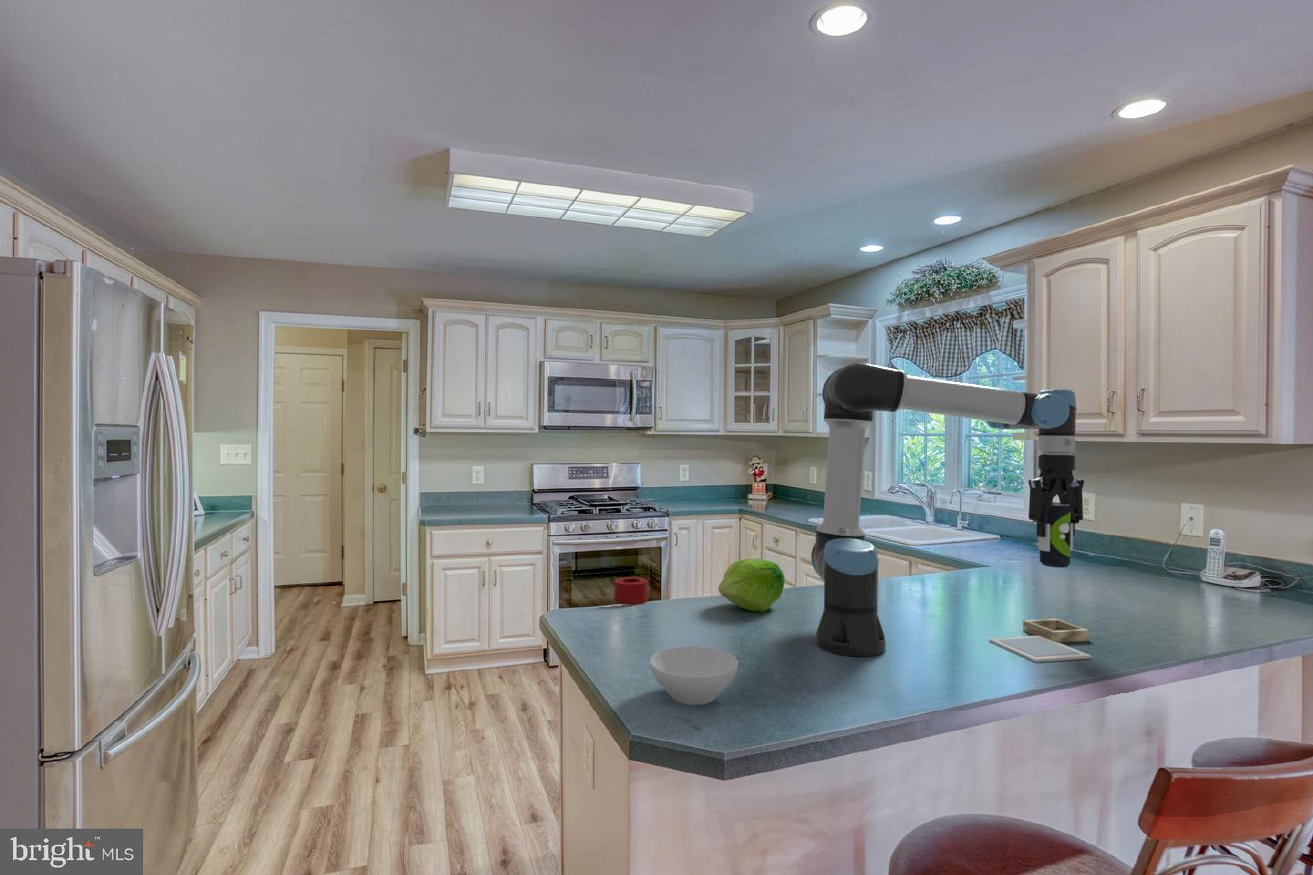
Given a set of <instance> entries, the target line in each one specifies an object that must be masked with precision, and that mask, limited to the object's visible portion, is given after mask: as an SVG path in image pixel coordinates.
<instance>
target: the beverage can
mask: <svg viewBox="0 0 1313 875" xmlns="http://www.w3.org/2000/svg"><path fill="white" fill-rule="evenodd" d="M1070 522H1071V509H1070V508H1069V504H1068V505H1064V504H1060V502H1057V501H1056V502H1052V505H1051V509H1050V513H1049V517H1048V520H1047V523H1046V524H1050V551H1043V550H1039V562H1040V563H1041V564H1042V565H1043V566H1046V567H1050V568H1063V569H1064V568H1068V566H1070V565H1071V551H1070Z"/></svg>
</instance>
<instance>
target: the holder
mask: <svg viewBox="0 0 1313 875" xmlns="http://www.w3.org/2000/svg"><path fill="white" fill-rule="evenodd" d="M1022 631H1023V632H1025V631H1026V633H1028V634H1031V635H1032V636H1040V635H1041V636H1043V637H1046V638H1048V639H1051V640H1053V641H1056V642H1058V643H1061V644H1063V643H1074V642H1076V643H1077V642H1089V641H1090V630H1089V629H1087V628H1084V627H1082V626H1078V625H1076V624H1072V623H1071V622H1070V623H1069V622H1067V621H1064V620H1062V619H1059V618H1045V619H1028V620H1027V619H1025V620H1022Z"/></svg>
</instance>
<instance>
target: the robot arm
mask: <svg viewBox="0 0 1313 875" xmlns="http://www.w3.org/2000/svg"><path fill="white" fill-rule="evenodd" d="M821 395H822V400H823V404H824V407H823V408H824V409H823V421H824V422H825V424H827V426H828V428H829V431H828V443H827V444H828V445H827V459H826V460H827V461H826V473H825V487H824V488H825V489H824V502H823V504H824V506H823V517H822V518H823V519H822V523H821V524H820V525H818V526H817V527H816V529H815V543H814V544H813V546H812V550H811V554H810V555H811V556H810V558H811V564H812V567H813V569H814V572H815V573H816V574H817V575H818V577H819V578H821V580H823V586H824V587H823V611H822V615H821V617H820V620H819V623H818V627H817V629H816V633H815V643H816V645H817V646H818V648H820V649H822V650H823V651H826V652H829V653H833V654H837V655H840V656H841V655H842V656H847V657H873V656H878V655H881V654H883V653H885V652H886V646H887V645H886V644H887V642H886V641H887V640H886V637H885V633H884V630H883V627H882V623H881V621H880V617H879V615H878V598H879V597H878V596H879V591H878V588H879V587H878V586H879V583H878V582H879V581H878V580H879V561H880V559H879V555H878V550H877V548H876V546H875V545H874V544H873V543H871V542H868V541H866V540H865V539H866V538H865V536H866V534H865V532H864V530H863V529H862V527H860V517H861V516H860V514H861V512H860V511H861V498H862V486H863V483H862V482H863V470H864V455H865V454H864V453H865V443H866V442H865V439H866V438H865V437H866V429H867V428H868V427H870V425H872V424H873V418H874V417H873V416H874V412H891V413H897V412H898V411H900V410H907V411H908V410H909V411H914V412H921V413H928V414H929V413H930V414H937V415H944V416H950V417H957V418H964V419H966V418H967V419H971V420H972V419H973V420H979V421H986V424H987V426H988V427H990V428H991V429H994V430H997V429H999V430H1000V429H1001V430H1038V450H1037V451H1038V453H1040V454H1039V455H1038V456H1037V457H1038V459H1037V460H1038V461H1037V462H1038V464H1037V467H1038V469H1039V471H1040V474H1038V475H1039V476H1038V477H1037V478H1034V479H1032V478H1030V479H1028V485H1029V500H1028V501H1029V506H1028V519H1029V521H1032V522H1034V523H1036V536H1037V537H1038V539H1037V540H1038V545H1037V547H1038V548H1037V550H1039V551H1040V550H1043V551H1050V524H1046V523H1047V520H1048V517H1049V513H1050V509H1051V505H1052V502H1053V500H1054V498H1055V497H1056V496H1057V497H1058V500H1059V503H1060V504H1064V505H1068V504H1069V508H1070V509H1071V522H1070V552H1072V551H1074V537H1075V534H1076V524H1079V523H1080V521H1082V520H1083V519H1084V506H1083V505H1084V502H1083V501H1084V500H1083V488H1084V484H1085V480H1084V479H1079V478H1075V476H1074V473H1073V471H1074V470H1076V456H1075V455H1073V453H1075V452H1076V417H1077V416H1076V414H1077V403H1076V400H1077V399H1076V394H1075V392H1074V390H1071V389H1043V390H1041V391H1039V393H1032V392H1026V391H1019V390H1013V389H1005V388H999V387H998V388H997V387H992V386H983V385H977V384H968V383H961V382H954V381H950V380H949V381H947V380H940V379H935V378H934V379H932V378H925V377H919V376H912V375H907V374H906V372H905V371H904V370H901V369H894V368H889V367H884V366H880V365H875V364H870V363H863V362H855V363H850V364H847V365H846V366H844V367H841V368H838V369H837V370H834V371H833V372H832V373H831V374H830V375H829V376H828V377H827V378H826V380H825V382H824V384H823V387H822V394H821Z"/></svg>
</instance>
